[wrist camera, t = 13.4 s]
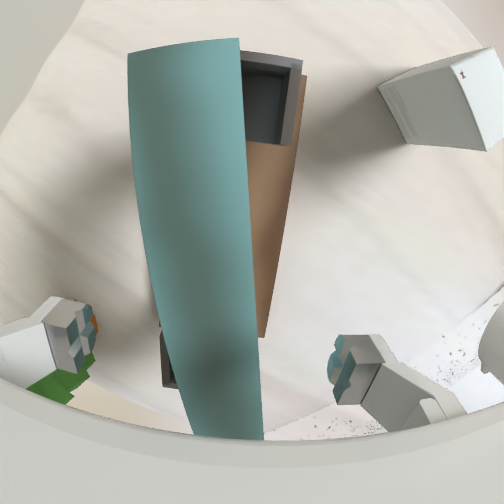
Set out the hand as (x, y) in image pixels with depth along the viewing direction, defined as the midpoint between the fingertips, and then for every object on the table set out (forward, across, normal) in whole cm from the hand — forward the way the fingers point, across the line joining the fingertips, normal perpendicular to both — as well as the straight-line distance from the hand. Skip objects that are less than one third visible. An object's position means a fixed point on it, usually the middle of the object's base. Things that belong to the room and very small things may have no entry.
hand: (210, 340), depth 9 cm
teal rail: (+9, +1, 0) cm, 9 cm away
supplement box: (+22, -18, -15) cm, 32 cm away
